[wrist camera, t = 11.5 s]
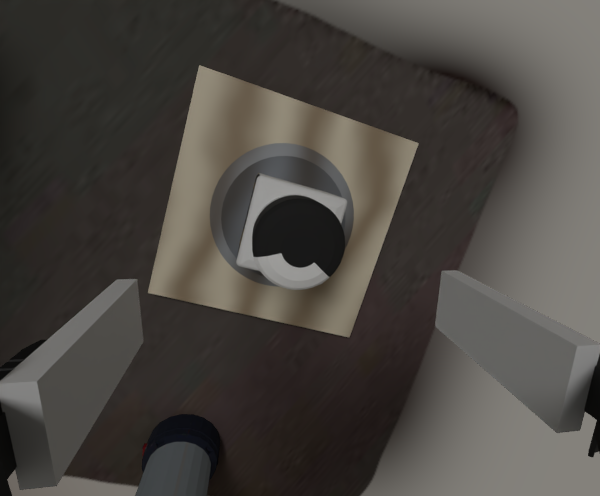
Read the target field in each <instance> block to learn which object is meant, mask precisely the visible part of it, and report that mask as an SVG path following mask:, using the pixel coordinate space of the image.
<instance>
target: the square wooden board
mask: <svg viewBox="0 0 600 496" xmlns="http://www.w3.org/2000/svg"><path fill="white" fill-rule="evenodd" d="M418 144H419V143H416V142H413V141H411V140H408V139H405V138H402V137H399V136H397V135H394V134H391V133H388V132H385V131H383V130H380V129H377V128H374V127H371V126H369V125H366V124H363V123H360V122H357V121H355V120H352V119H349V118H346V117H343V116H341V115H338V114H335V113H332V112H329V111H326V110H324V109H321V108H318V107H315V106H312V105H310V104H307V103H304V102H301V101H298V100H296V99H293V98H290V97H287V96H284V95H282V94H279V93H276V92H273V91H270V90H268V89H265V88H262V87H259V86H256V85H254V84H251V83H248V82H245V81H242V80H240V79H237V78H234V77H231V76H228V75H226V74H223V73H220V72H217V71H214V70H212V69H209V68H206V67H203V66H200V65H199V69H198V73H197V78H196V82H195V86H194V91H193V95H192V100H191V104H190V109H189V113H188V117H187V122H186V126H185V131H184V135H183V140H182V144H181V148H180V153H179V157H178V162H177V166H176V171H175V175H174V180H173V184H172V188H171V193H170V197H169V202H168V206H167V211H166V215H165V219H164V224H163V228H162V233H161V237H160V242H159V246H158V250H157V255H156V259H155V264H154V268H153V273H152V277H151V281H150V286H149V290H148V293H151V294H156V295H160V296H165V297H169V298H174V299H178V300H183V301H187V302H192V303H196V304H201V305H205V306H210V307H214V308H219V309H223V310H228V311H232V312H237V313H241V314H246V315H250V316H255V317H259V318H264V319H268V320H273V321H277V322H282V323H286V324H291V325H295V326H300V327H304V328H309V329H313V330H318V331H322V332H327V333H331V334H336V335H340V336H345V337H350V334H351V332H352V329H353V326H354V323H355V320H356V318H357V315H358V312H359V309H360V306H361V304H362V301H363V298H364V295H365V292H366V290H367V287H368V284H369V281H370V278H371V276H372V273H373V270H374V267H375V264H376V262H377V259H378V256H379V253H380V250H381V248H382V245H383V242H384V239H385V236H386V234H387V231H388V228H389V225H390V222H391V220H392V217H393V214H394V211H395V208H396V206H397V203H398V200H399V197H400V194H401V192H402V189H403V186H404V183H405V180H406V178H407V175H408V172H409V169H410V166H411V164H412V161H413V158H414V155H415V152H416V150H417V147H418ZM258 174H264V175H268V176H271V177H275V178H278V179H282V180H285V181H289V182H292V183H296V184H299V185H303V186H307V187H310V188H314V189H317V190H321V191H324V192H328V193H330V194H333V195H336V196H339V197H342V198H344V199H346V200H347V207H346V210H345V213H344V217H343V220H342V223H341V225H342V228H343V231H344V235H345V251H344V255H343V258H342V261H341V263H340V265H339V267H338V268H337V270H336V271H335V272H334V273H333V275H332V276H331V277H330V278H328V279H327V280H326V281H325V282H323V283H322V284H320V285H317V286H315V287H312V288H309V289H303V290H291V289H286V288H282V287H280V286H277V285H275V284H274V283H272V282H271V281H269V280H268V279H267V278H266V277H265V276H264V275H263V274H262V273H261V271H257V270H253V269H248V268H244V267H240V266H238V265H237V263H236V260H237V255H238V249H239V244H240V239H241V235H242V231H243V227H244V223H245V219H246V215H247V211H248V207H249V203H250V199H251V195H252V191H253V187H254V183H255V179H256V176H257V175H258Z"/></svg>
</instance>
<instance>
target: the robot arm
mask: <svg viewBox="0 0 600 496" xmlns="http://www.w3.org/2000/svg"><path fill="white" fill-rule="evenodd" d="M435 327H436V328H437V329H439V330H440V331H441V332H442V333H443V334H444V335H446V336H447V337H448V338H449V339H450V340H451V341H452V342H453V343H455V344H456V345H457V346H458V347H459V348H461V349H462V350H463V351H464V352H465V353H466V354H467V355H468V356H470V357H471V358H472V359H473V360H474V361H475V362H476V363H477V364H479V365H480V366H481V367H482V368H483V369H484V370H486V371H487V372H488V373H489V374H490V375H491V376H492V377H493V378H495V379H496V380H497V381H498V382H499V383H501V385H503V386H504V387H505V388H506V389H507V390H508V391H510V392H511V393H512V394H513V395H514V396H515V397H516V398H517V399H519V400H520V401H521V402H522V403H523V404H524V405H526V406H527V407H528V408H529V409H530V410H531V411H532V412H534V413H535V414H536V415H537V416H538V417H539V418H540V419H541V420H543V421H544V422H545V423H546V424H547V425H548V426H550V427H551V428H552V429H553V430H554V431H555V432H556V433H560V432H569V431H579V430H580V429H581V425H582V421H583V417H584V413H585V412H587V413H588V414H590V415H591V416H592V417H594V418H595V419H596V420H597V422H596V426H595V429H594V433H593V437H592V441H591V444H590V448H589V453H588V456H590V457H593V456H594V453H595V452H598V451H599V452H600V343H598V342H596V341H594V340H592V339H590V338H588V337H586V336H584V335H582V334H581V333H578V332H577V331H575V330H573V329H571V328H569V327H567V326H565V325H563V324H561V323H559V322H557V321H555V320H553V319H551V318H549V317H547V316H545V315H543V314H541V313H539V312H538V311H535V310H534V309H531V308H530V307H528V306H526V305H524V304H522V303H520V302H518V301H516V300H514V299H512V298H510V297H508V296H506V295H504V294H502V293H500V292H498V291H496V290H495V289H493V288H491V287H489V286H487V285H485V284H483V283H481V282H479V281H477V280H475V279H473V278H471V277H469V276H467V275H465V274H463V273H461V272H459V271H442V274H441V282H440V290H439V298H438V306H437V314H436V322H435ZM142 343H143V333H142V323H141V313H140V303H139V293H138V283H137V279H125V280H116V281H115V282H114V283H112V284H111V285H110V286H109V287H108V288H107V289H105V290H104V291H103V292H102V293H101V294H100V295H99V296H97V297H96V298H95V299H94V300H93V301H92V302H90V303H89V304H88V305H87V306H86V307H85V308H84V309H82V310H81V311H80V312H79V313H78V314H77V315H75V316H74V317H73V318H72V319H71V320H70V321H69V322H67V323H66V324H65V325H64V326H63V327H62V328H60V329H59V330H58V331H57V332H56V333H55V334H54V335H52V336H51V337H50V338H49V339H48V340H40V341H38V342H36V343H34V344H32V345H30V346H28V347H26V348H24V349H22V350H21V351H20V352H19V353H17V354H16V355H15V356H14V357H12V358H11V359H10V360H9V362H6V363H5V364H4V365H3V366H1V367H0V496H12V494H11V491H10V488H9V485H8V481H7V479H8V478H9V476H10V475H11V474H12V472H13V471H14V470H16V474H17V479H18V483H19V488H20V490H23V489H32V488H42V487H51V486H57V484H58V483H59V481H60V479H61V478H62V476H63V474H64V473H65V471H66V469H67V468H68V466H69V464H70V463H71V461H72V459H73V458H74V456H75V454H76V453H77V451H78V450H79V448H80V446H81V445H82V443H83V441H84V440H85V438H86V436H87V435H88V433H89V431H90V430H91V428H92V426H93V425H94V423H95V421H96V420H97V418H98V416H99V415H100V413H101V411H102V410H103V408H104V406H105V405H106V403H107V401H108V400H109V398H110V396H111V395H112V393H113V391H114V390H115V388H116V386H117V385H118V383H119V381H120V380H121V378H122V376H123V375H124V373H125V371H126V370H127V368H128V366H129V365H130V363H131V361H132V360H133V358H134V356H135V355H136V353H137V351H138V350H139V348H140V346H141V345H142Z"/></svg>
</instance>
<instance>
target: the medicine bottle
mask: <svg viewBox="0 0 600 496" xmlns="http://www.w3.org/2000/svg"><path fill="white" fill-rule="evenodd" d="M346 207H347V200H346V199H344V198H342V197H339V196H336V195H333V194H330V193H328V192H324V191H321V190H317V189H314V188H310V187H307V186H303V185H299V184H296V183H292V182H289V181H285V180H282V179H278V178H275V177H271V176H268V175H264V174H258V175H257V176H256V179H255V183H254V187H253V191H252V195H251V199H250V203H249V207H248V211H247V215H246V219H245V223H244V227H243V231H242V235H241V239H240V244H239V249H238V255H237V260H236V263H237V265H238V266H240V267H244V268H248V269H253V270H257V271H261V273H262V274H263V275H264V276H265V277H266V278H267V279H268V280H269V281H271V282H272V283H274V284H275V285H277V286H280V287H282V288H286V289H291V290H303V289H309V288H312V287H315V286H317V285H320V284H322V283H323V282H325V281H326V280H327V279H328V278H330V277H331V276H332V275H333V273H334V272H335V271H336V270H337V268H338V267H339V265H340V263H341V261H342V258H343V255H344V251H345V235H344V231H343V228H342V225H341V223H342V220H343V217H344V213H345V210H346Z"/></svg>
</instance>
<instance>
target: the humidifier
mask: <svg viewBox="0 0 600 496" xmlns="http://www.w3.org/2000/svg"><path fill="white" fill-rule="evenodd" d="M219 447H220V437H219V434H218V431H217V429H216V428H215V427H214V426H213V424H212V423H210V422H209V421H207V420H206V419H204V418H202V417H199V416H196V415H187V414H181V415H177V416H172V417H169V418H168V419H166V420H164V421H162V422H160V423H159V424H158V426H157V427H156V428H155V429H154V430H153V432H152V434H151V436H150V438H149V440H148V443H147V444H144V446H143V454H142V456H143V459H142V471H143V476H142V478H141V481H140V484H139V487H138V490H137V492H136V495H135V496H207V490H208V483H209V480H210V479H211V478H212V476H213V474H214V472H215V470H216V466H217V464H218V456H219Z"/></svg>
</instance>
